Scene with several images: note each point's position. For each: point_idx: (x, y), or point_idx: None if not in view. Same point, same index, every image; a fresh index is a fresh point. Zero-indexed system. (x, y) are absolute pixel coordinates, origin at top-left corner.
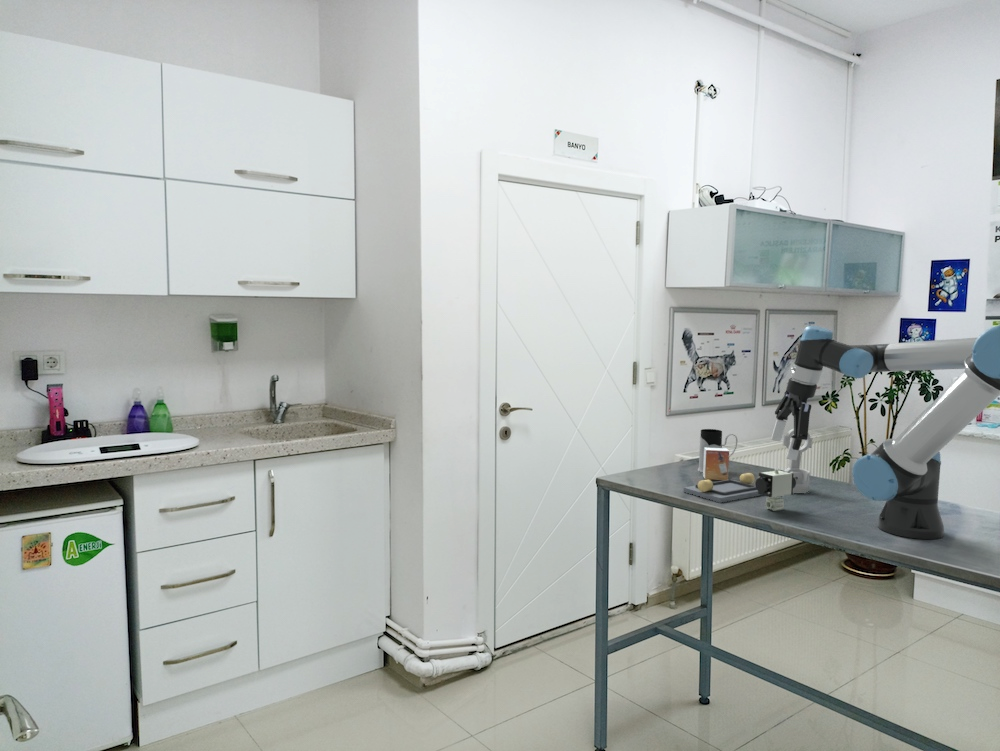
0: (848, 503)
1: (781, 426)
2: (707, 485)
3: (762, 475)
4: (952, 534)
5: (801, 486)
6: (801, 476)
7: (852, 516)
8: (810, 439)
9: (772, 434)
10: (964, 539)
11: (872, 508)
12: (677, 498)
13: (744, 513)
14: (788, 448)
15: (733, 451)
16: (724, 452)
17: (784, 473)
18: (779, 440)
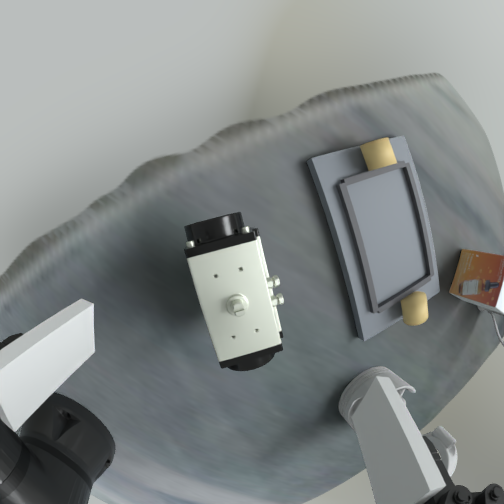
0: (250, 450)
1: (386, 480)
2: (367, 147)
3: (232, 236)
4: None
5: (346, 410)
6: None
7: (151, 412)
8: None
9: (397, 398)
10: None
11: (210, 465)
12: (351, 92)
13: (200, 168)
14: (55, 330)
15: (501, 340)
16: (496, 296)
17: (225, 335)
18: (356, 416)
